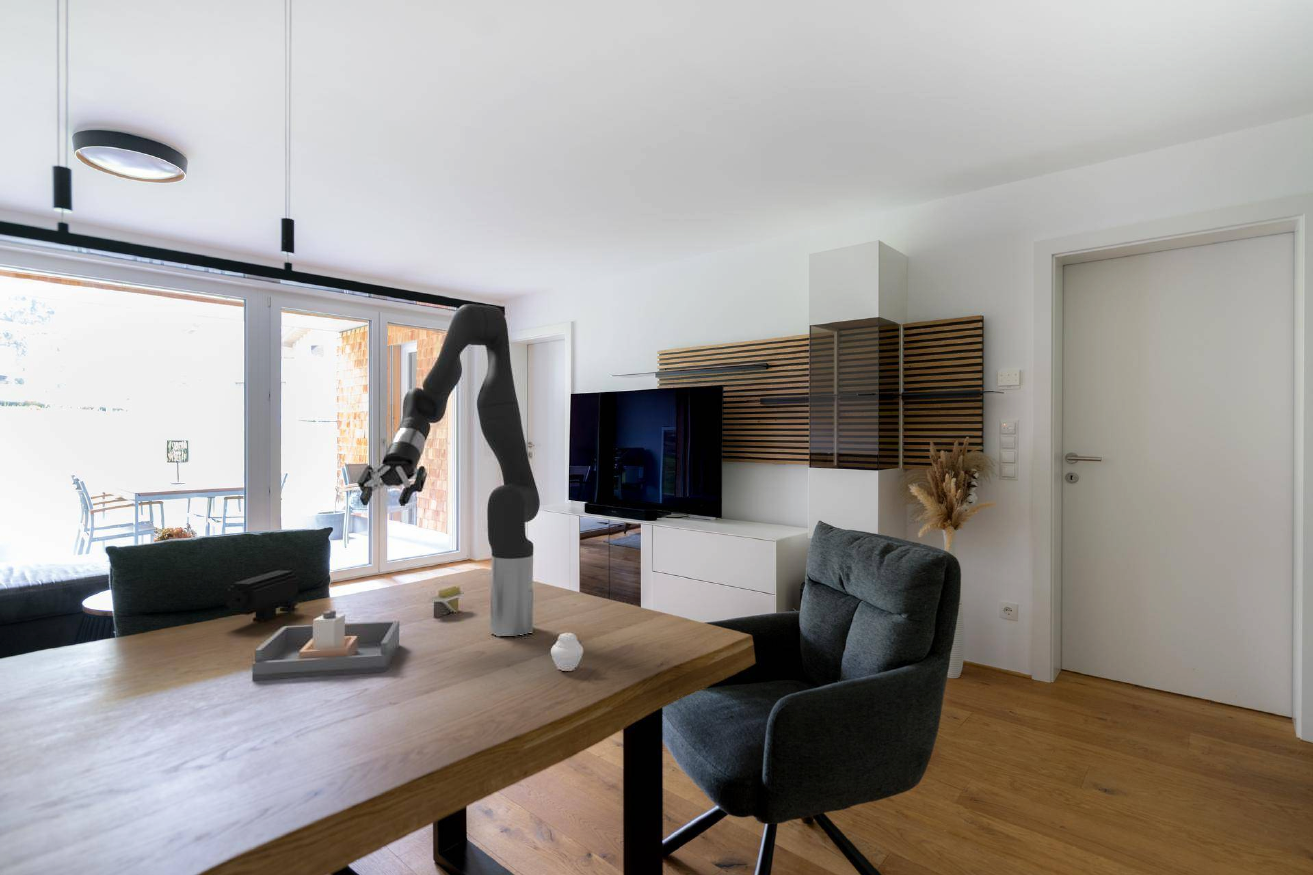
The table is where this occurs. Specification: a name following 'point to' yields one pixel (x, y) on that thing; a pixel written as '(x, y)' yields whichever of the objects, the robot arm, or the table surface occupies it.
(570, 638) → the white lidded jar
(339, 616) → the plug
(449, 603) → the platform
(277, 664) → the walled box
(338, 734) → the table surface
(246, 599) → the security camera
